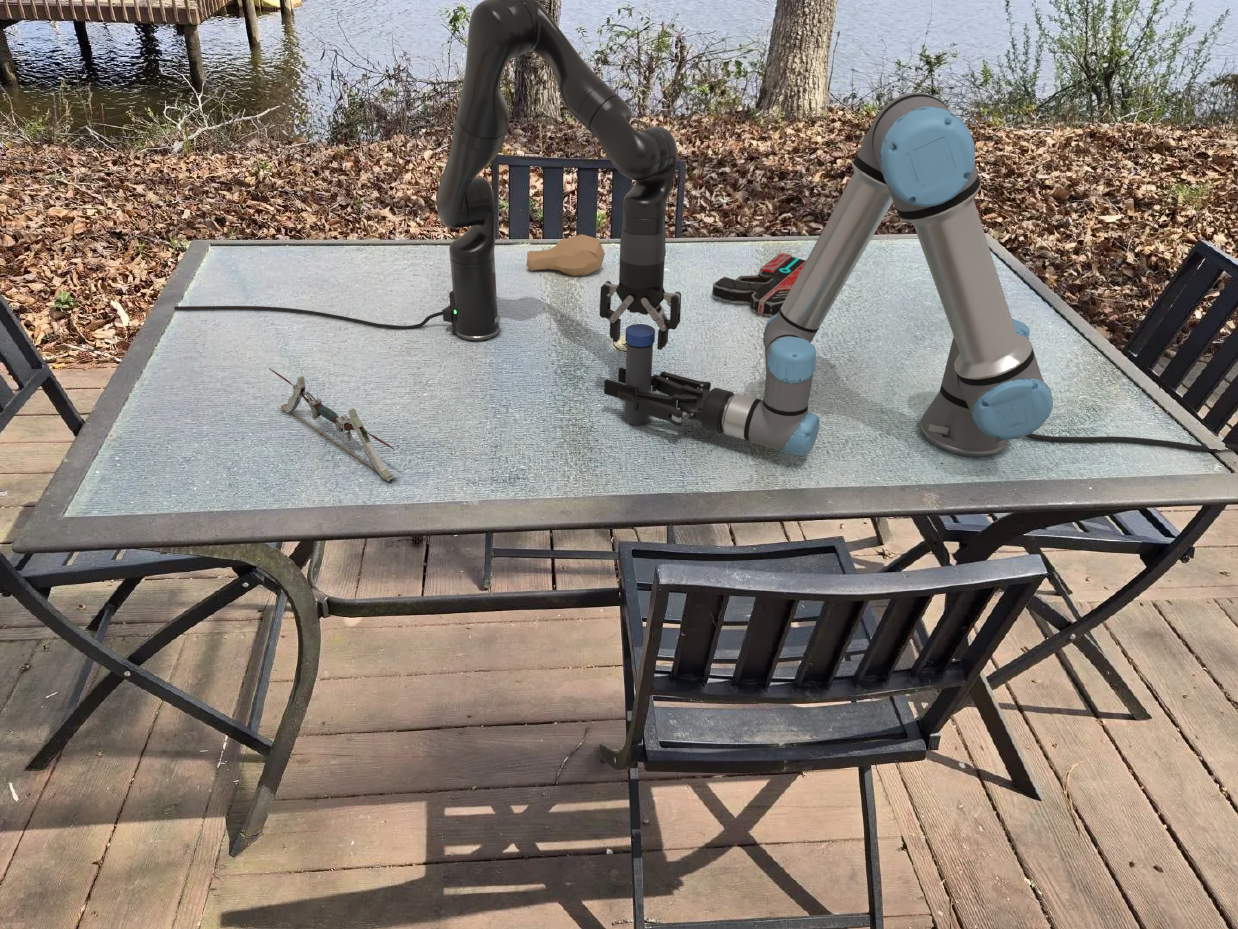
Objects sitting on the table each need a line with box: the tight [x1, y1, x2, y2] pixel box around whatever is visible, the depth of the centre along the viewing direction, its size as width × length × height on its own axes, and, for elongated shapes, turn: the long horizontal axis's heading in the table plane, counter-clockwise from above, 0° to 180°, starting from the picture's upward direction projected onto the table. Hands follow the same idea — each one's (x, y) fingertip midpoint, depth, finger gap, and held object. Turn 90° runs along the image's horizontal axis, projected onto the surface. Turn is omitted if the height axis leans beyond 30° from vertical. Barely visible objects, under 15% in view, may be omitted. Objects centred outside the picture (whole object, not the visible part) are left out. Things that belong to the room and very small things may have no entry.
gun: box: [711, 252, 807, 318], centre depth 215 cm, size 4×31×19 cm
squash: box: [526, 233, 606, 277], centre depth 222 cm, size 11×20×9 cm, turn 90°
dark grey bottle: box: [623, 342, 654, 426], centre depth 159 cm, size 5×5×18 cm
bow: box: [269, 367, 396, 483], centre depth 151 cm, size 39×2×10 cm, turn 47°
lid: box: [625, 323, 656, 347], centre depth 154 cm, size 5×5×2 cm
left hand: (638, 343), depth 155 cm, fingers open, 7 cm apart
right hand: (612, 380), depth 162 cm, fingers closed on dark grey bottle, 5 cm apart
